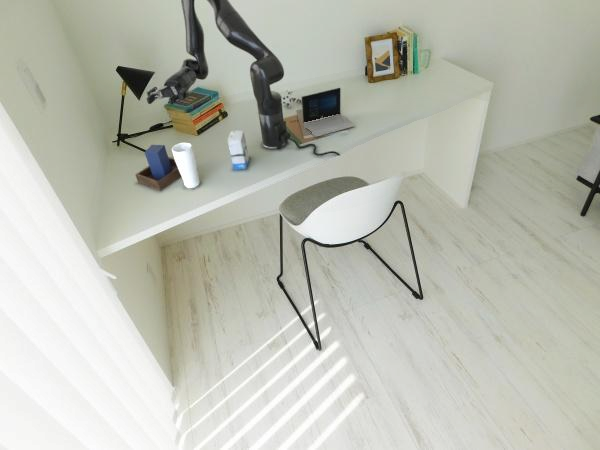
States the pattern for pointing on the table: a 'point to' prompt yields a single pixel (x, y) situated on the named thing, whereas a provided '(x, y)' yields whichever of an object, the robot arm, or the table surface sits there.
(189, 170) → the drinking glass
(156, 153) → the carton
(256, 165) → the table surface
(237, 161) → the ink box
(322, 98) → the laptop
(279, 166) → the table surface
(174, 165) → the desk tray
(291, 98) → the molecule model
